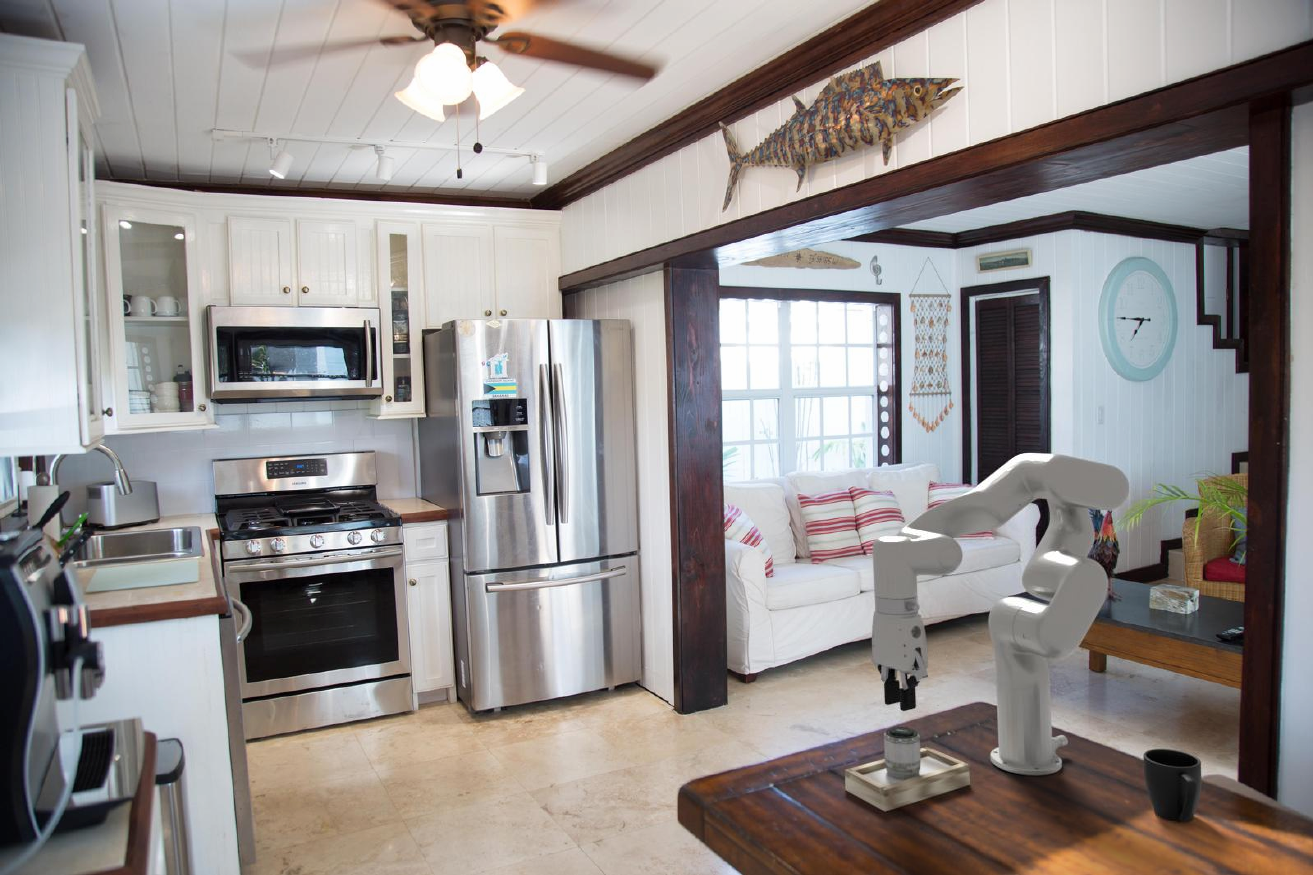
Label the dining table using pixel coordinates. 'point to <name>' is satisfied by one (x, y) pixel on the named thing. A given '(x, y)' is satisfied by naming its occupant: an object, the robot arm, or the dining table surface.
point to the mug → (1173, 783)
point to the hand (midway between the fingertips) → (900, 705)
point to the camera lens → (902, 752)
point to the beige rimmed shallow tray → (907, 780)
